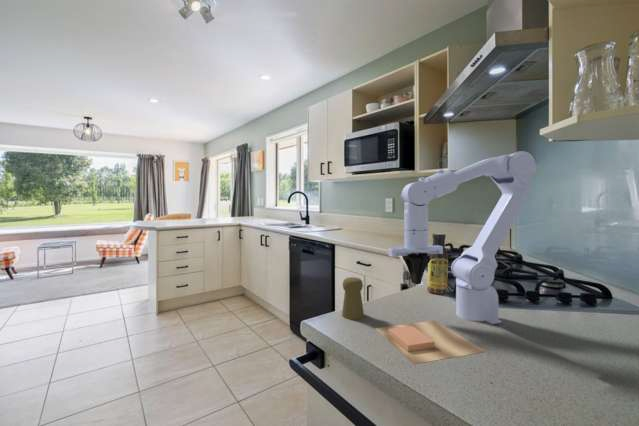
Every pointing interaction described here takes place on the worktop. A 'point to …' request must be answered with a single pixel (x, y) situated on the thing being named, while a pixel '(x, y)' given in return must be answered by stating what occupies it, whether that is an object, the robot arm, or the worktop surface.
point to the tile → (411, 338)
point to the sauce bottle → (438, 267)
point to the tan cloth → (444, 339)
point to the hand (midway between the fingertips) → (416, 283)
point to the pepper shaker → (352, 299)
